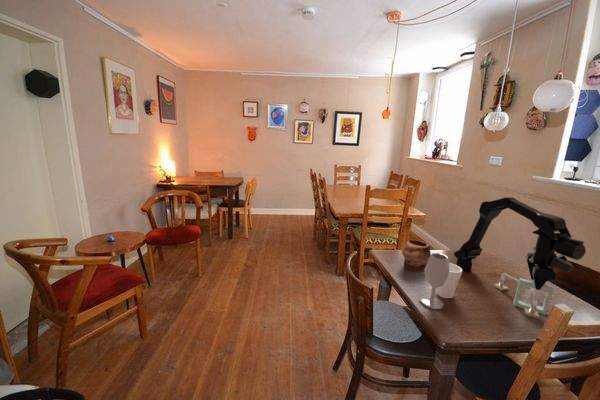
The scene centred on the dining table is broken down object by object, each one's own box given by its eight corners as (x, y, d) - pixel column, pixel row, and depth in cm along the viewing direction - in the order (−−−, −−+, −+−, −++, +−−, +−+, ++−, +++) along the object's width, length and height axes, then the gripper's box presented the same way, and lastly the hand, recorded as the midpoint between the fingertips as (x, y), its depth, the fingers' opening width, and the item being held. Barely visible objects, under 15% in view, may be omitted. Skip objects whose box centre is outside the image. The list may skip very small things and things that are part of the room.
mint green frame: (513, 305, 109) (520, 280, 106) (513, 302, 111) (519, 277, 109) (545, 314, 104) (553, 288, 101) (544, 311, 106) (551, 285, 104)
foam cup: (454, 291, 118) (459, 264, 115) (459, 302, 109) (464, 274, 106) (431, 286, 120) (435, 260, 118) (433, 297, 112) (438, 269, 109)
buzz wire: (528, 318, 101) (540, 298, 99) (490, 284, 125) (499, 267, 123) (542, 322, 101) (554, 303, 99) (502, 287, 125) (511, 271, 122)
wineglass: (433, 312, 102) (442, 262, 97) (414, 300, 109) (422, 253, 105) (447, 306, 106) (457, 258, 101) (428, 295, 113) (436, 250, 109)
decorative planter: (415, 258, 150) (418, 235, 146) (436, 267, 140) (440, 242, 137) (394, 267, 138) (397, 242, 135) (415, 277, 128) (420, 250, 125)
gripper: (582, 263, 90) (569, 303, 93) (566, 245, 105) (555, 281, 109) (539, 254, 96) (529, 292, 99) (530, 239, 111) (521, 272, 115)
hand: (535, 284), depth 105 cm, fingers open, 9 cm apart
